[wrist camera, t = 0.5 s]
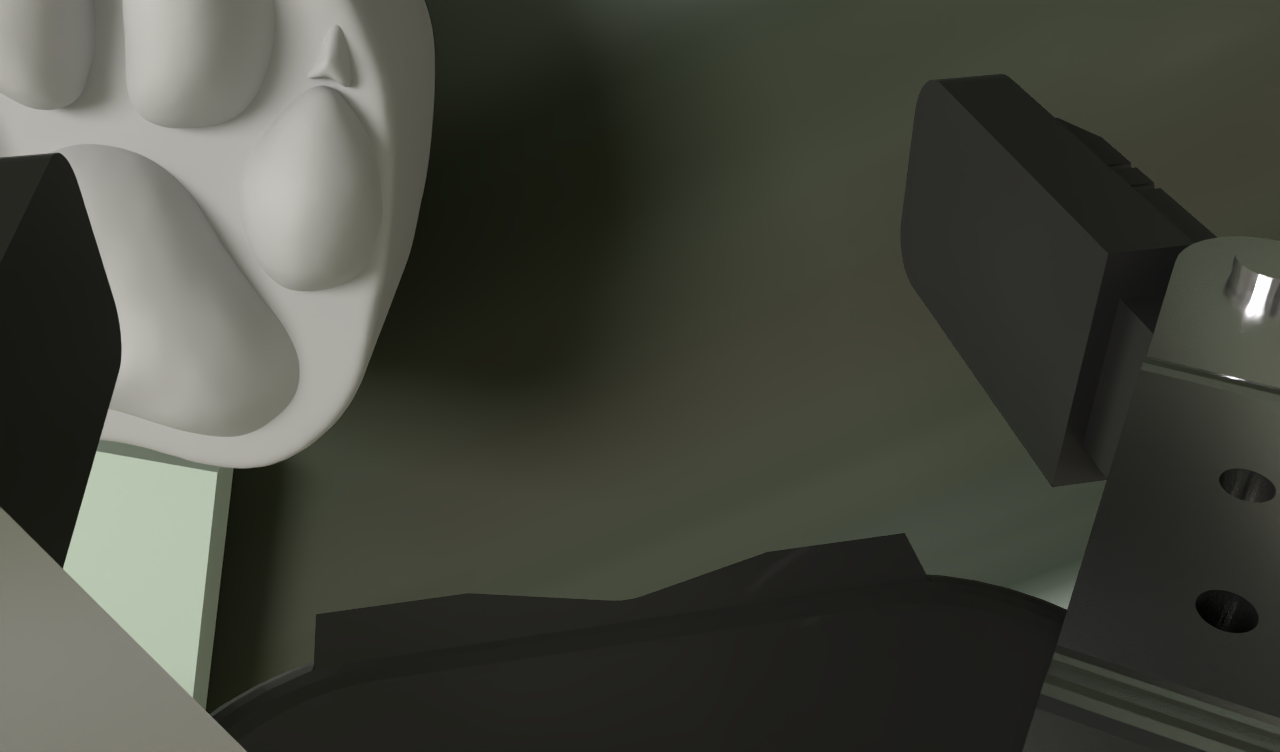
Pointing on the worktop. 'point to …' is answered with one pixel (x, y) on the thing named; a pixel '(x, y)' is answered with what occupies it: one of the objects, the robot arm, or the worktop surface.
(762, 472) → the worktop surface
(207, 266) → the lumpy-topped squat cylinder
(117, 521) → the pocket frame
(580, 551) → the worktop surface
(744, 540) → the worktop surface
